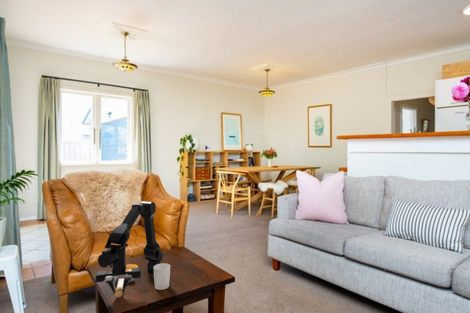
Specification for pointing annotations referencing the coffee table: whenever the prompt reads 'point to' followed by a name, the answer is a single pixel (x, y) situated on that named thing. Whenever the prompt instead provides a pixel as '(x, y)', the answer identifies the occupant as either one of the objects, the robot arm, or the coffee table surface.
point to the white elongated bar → (119, 288)
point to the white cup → (161, 276)
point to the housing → (128, 281)
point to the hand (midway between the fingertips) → (118, 293)
